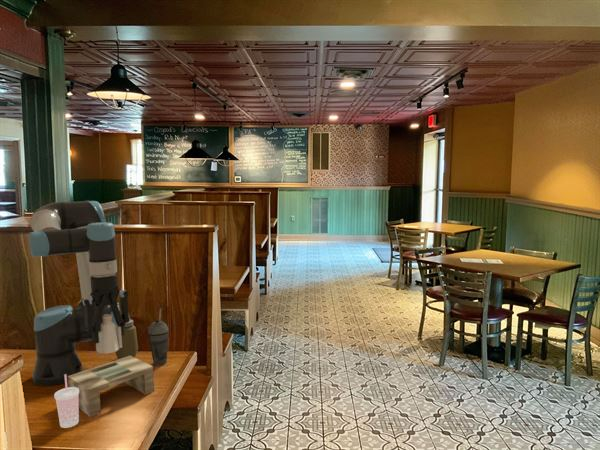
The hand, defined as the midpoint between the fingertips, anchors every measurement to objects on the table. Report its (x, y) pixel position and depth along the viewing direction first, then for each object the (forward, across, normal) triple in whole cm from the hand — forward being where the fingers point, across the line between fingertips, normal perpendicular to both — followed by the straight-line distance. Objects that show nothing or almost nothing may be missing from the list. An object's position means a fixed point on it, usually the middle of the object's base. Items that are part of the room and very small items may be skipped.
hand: (109, 349), depth 139 cm
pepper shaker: (0, 0, 0) cm, 0 cm away
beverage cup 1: (+15, -15, -6) cm, 22 cm away
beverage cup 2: (+15, +23, +11) cm, 30 cm away
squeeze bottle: (+15, +17, +24) cm, 33 cm away
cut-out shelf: (+15, 0, 0) cm, 15 cm away
